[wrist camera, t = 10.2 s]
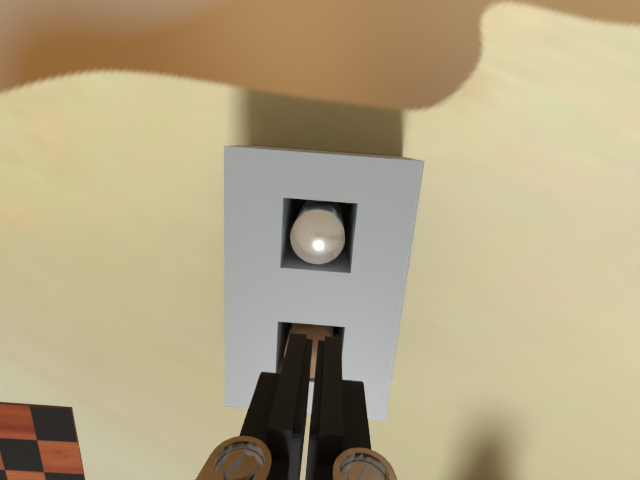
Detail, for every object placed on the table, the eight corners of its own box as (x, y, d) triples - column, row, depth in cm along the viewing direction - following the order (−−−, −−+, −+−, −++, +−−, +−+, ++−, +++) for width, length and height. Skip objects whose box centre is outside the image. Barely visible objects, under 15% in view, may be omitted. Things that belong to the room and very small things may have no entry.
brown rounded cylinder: (335, 294, 35) (335, 337, 28) (331, 330, 36) (331, 380, 29) (295, 291, 35) (285, 333, 28) (293, 326, 36) (283, 376, 29)
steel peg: (344, 196, 33) (347, 213, 25) (340, 237, 34) (342, 266, 26) (301, 193, 33) (291, 209, 25) (299, 234, 34) (288, 261, 26)
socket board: (402, 156, 32) (424, 161, 24) (374, 364, 38) (385, 420, 30) (250, 145, 32) (224, 146, 24) (246, 353, 38) (224, 406, 30)
